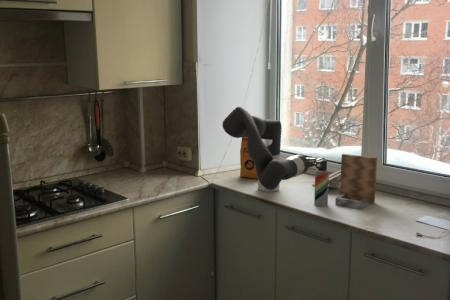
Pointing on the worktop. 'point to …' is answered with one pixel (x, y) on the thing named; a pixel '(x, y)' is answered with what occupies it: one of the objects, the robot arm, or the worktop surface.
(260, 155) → the robot arm
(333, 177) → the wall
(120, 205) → the worktop surface
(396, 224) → the worktop surface
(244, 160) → the coffee package
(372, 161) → the cleat board
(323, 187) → the lotion bottle
